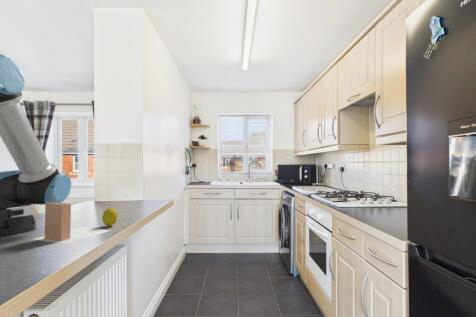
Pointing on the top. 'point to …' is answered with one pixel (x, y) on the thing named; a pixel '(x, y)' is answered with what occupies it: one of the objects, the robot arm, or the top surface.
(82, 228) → the mat
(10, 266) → the top surface
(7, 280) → the top surface
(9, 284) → the top surface
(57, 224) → the block
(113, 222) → the lemon
